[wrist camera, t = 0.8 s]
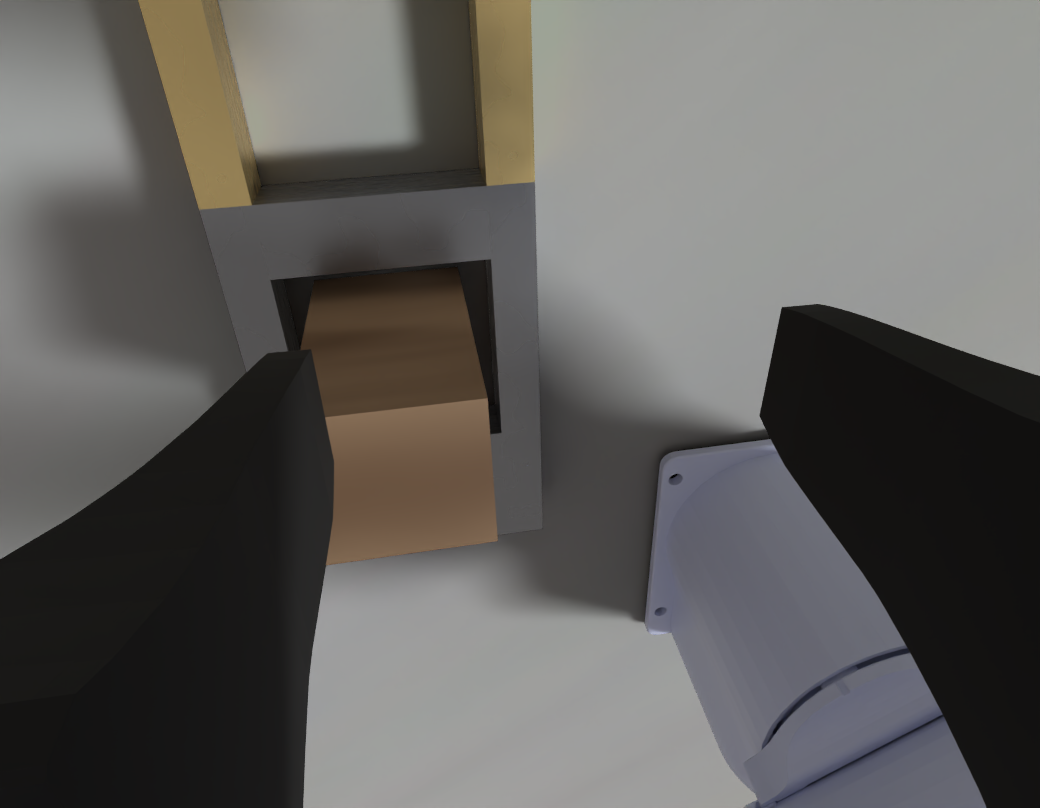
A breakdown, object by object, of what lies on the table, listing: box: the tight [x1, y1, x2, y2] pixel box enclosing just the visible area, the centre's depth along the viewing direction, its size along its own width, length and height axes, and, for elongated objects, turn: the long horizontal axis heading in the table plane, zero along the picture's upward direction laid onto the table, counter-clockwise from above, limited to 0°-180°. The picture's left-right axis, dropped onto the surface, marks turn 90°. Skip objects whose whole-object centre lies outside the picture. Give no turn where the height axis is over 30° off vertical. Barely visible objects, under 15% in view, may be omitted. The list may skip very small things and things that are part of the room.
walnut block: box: [300, 267, 498, 565], centre depth 18 cm, size 4×4×7 cm
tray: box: [138, 0, 543, 535], centre depth 19 cm, size 19×8×2 cm, turn 2°
